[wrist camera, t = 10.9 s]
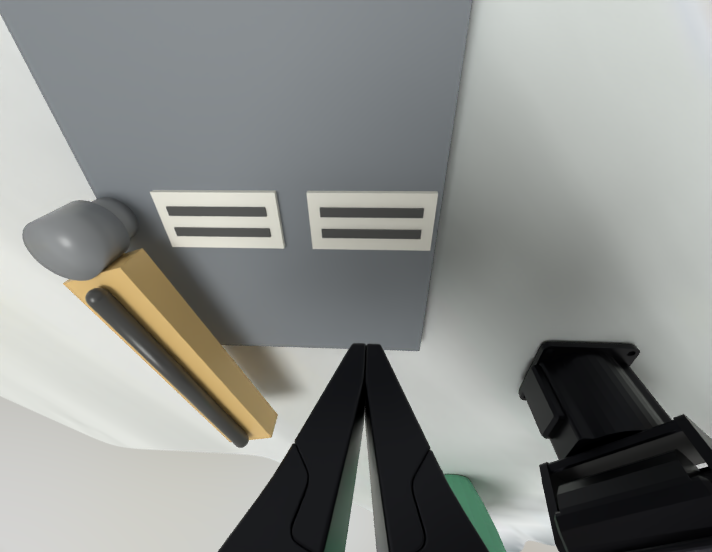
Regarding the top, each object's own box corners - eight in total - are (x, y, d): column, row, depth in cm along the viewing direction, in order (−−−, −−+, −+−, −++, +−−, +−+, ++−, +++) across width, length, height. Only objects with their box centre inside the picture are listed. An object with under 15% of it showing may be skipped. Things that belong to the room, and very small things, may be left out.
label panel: (471, -46, 11) (490, -64, 10) (417, 338, 23) (421, 363, 21) (-11, -28, 12) (-79, -42, 11) (171, 330, 24) (154, 354, 22)
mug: (512, 480, 36) (551, 607, 28) (454, 506, 41) (473, 619, 33) (406, 441, 32) (415, 574, 24) (356, 475, 37) (351, 594, 29)
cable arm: (278, 412, 25) (267, 451, 23) (239, 417, 26) (225, 455, 24) (100, 191, 15) (47, 219, 12) (45, 211, 16) (-16, 241, 13)
